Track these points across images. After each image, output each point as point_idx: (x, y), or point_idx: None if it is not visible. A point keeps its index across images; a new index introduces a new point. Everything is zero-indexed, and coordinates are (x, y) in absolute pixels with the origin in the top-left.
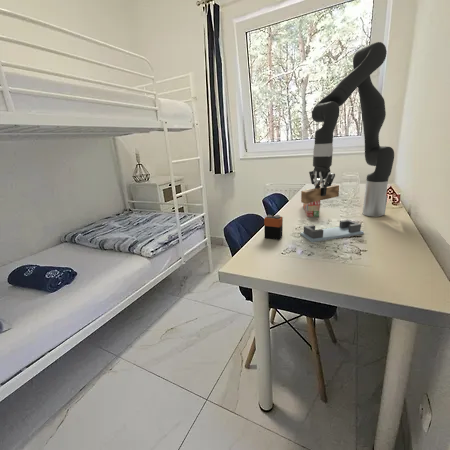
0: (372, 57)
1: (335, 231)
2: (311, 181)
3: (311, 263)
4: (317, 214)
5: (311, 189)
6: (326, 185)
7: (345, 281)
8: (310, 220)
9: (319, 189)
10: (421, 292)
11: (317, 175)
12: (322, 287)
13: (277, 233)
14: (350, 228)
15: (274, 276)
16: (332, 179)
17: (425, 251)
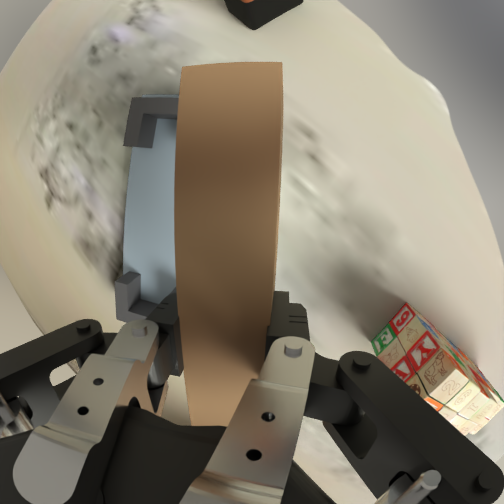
0: None
1: (161, 235)
2: (392, 377)
3: (68, 41)
4: (378, 341)
5: (249, 221)
6: (68, 327)
7: (14, 76)
8: (358, 274)
9: (178, 293)
10: None
11: (206, 481)
12: (26, 36)
13: None
14: (125, 277)
15: None
16: (21, 398)
17: (29, 306)
